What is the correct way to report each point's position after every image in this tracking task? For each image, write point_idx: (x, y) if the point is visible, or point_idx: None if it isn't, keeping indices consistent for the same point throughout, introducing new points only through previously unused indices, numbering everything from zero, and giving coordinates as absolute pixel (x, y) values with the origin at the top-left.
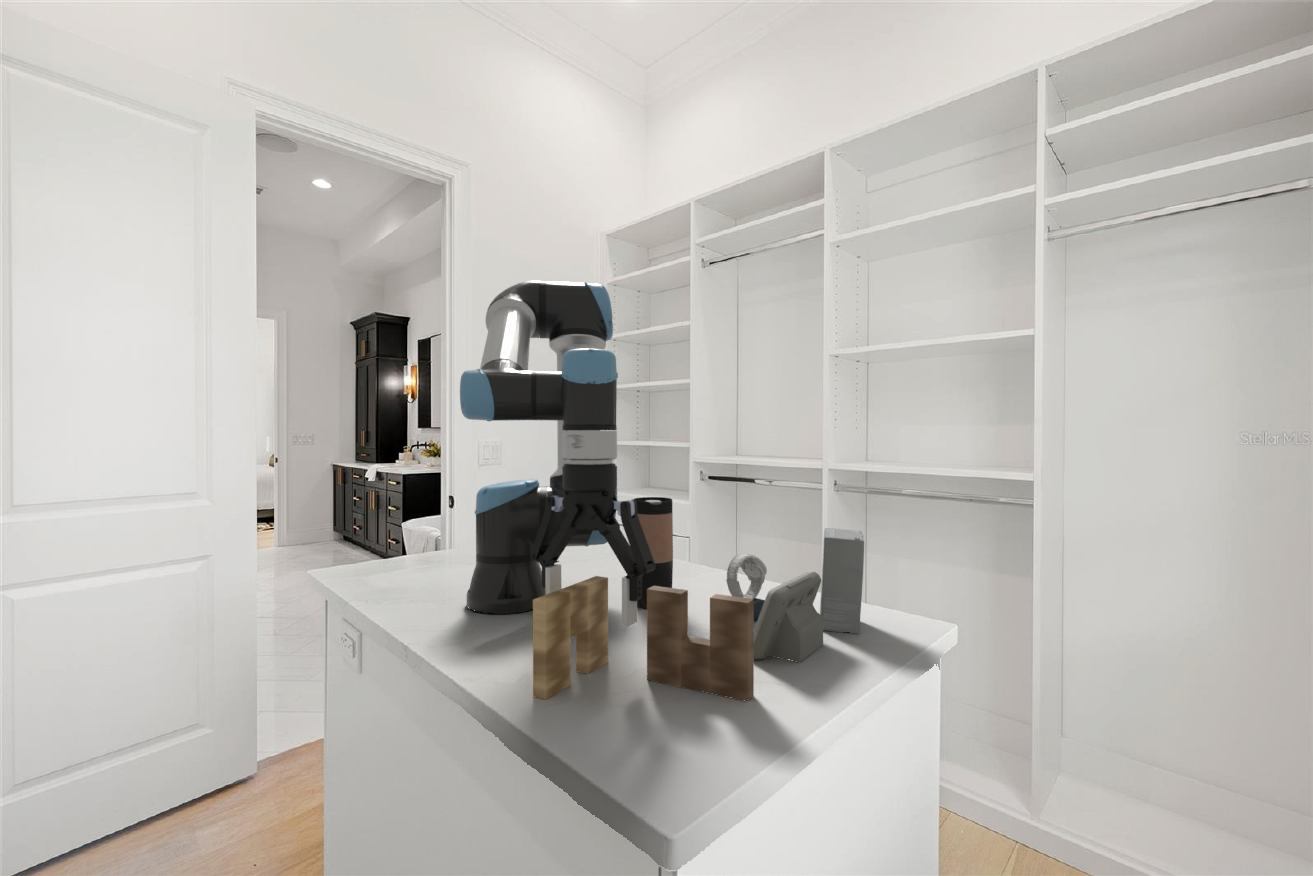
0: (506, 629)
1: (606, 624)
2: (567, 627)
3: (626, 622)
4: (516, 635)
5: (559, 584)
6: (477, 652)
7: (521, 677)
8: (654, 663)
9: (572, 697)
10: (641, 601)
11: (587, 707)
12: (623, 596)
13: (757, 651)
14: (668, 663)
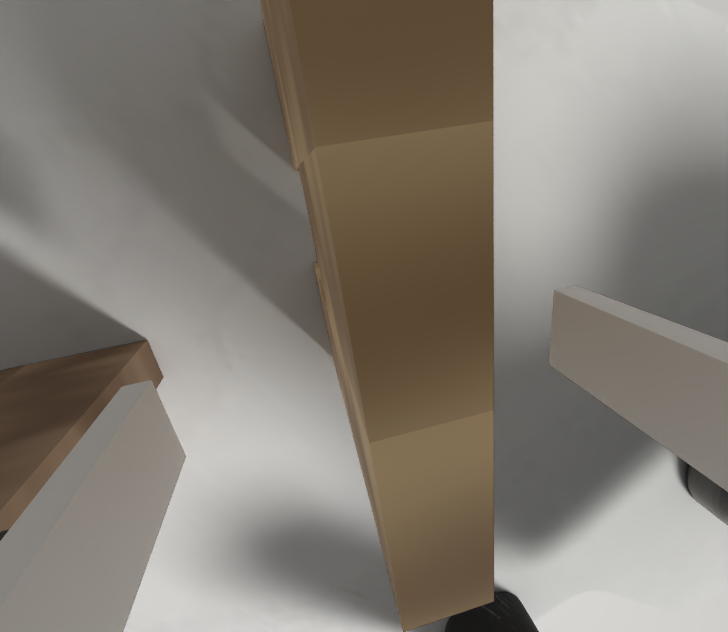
0: None
1: (348, 415)
2: (294, 131)
3: (111, 400)
4: None
5: (654, 423)
6: (674, 174)
7: None
8: (95, 372)
9: (213, 97)
10: (497, 613)
11: (106, 63)
12: (47, 514)
13: None
14: (30, 390)
